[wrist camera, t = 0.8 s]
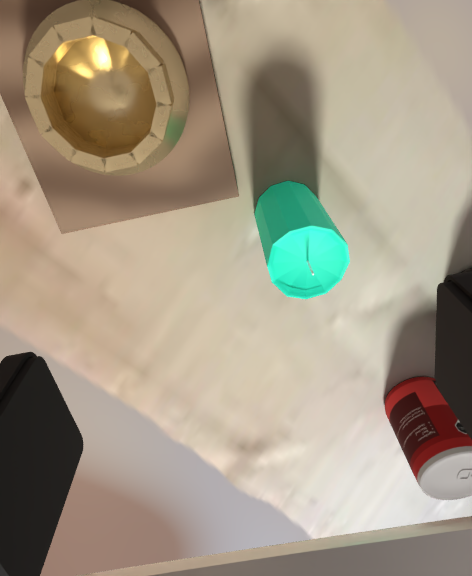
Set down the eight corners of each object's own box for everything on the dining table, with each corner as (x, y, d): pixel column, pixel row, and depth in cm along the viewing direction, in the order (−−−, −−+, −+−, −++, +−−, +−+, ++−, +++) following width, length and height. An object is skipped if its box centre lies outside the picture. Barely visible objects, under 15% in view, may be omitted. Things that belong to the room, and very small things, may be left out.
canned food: (448, 412, 55) (498, 491, 46) (385, 426, 56) (421, 507, 46) (447, 367, 51) (501, 443, 42) (379, 383, 52) (417, 462, 42)
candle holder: (-2, 21, 31) (-29, 20, 27) (164, -19, 30) (158, -26, 27) (65, 185, 37) (50, 201, 33) (205, 155, 36) (205, 168, 33)
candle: (300, 167, 39) (334, 217, 28) (329, 221, 41) (370, 285, 31) (242, 203, 40) (253, 262, 30) (273, 253, 43) (294, 324, 32)
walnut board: (-48, -39, 30) (-59, -42, 29) (179, -96, 29) (177, -102, 28) (66, 227, 40) (61, 234, 39) (238, 190, 39) (239, 196, 38)
